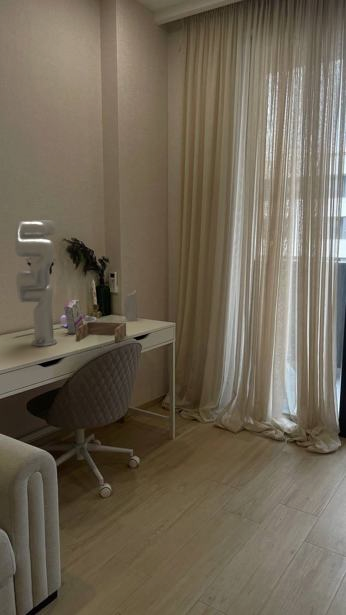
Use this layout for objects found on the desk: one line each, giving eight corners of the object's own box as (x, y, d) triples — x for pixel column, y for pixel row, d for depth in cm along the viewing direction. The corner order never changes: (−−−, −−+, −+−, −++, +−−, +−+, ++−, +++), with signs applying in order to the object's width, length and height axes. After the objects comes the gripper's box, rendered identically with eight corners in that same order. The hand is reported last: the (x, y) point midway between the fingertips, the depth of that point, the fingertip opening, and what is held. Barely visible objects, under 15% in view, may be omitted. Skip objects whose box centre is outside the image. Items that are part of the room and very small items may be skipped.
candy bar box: (75, 325, 270) (71, 299, 264) (83, 325, 269) (79, 299, 263) (68, 333, 260) (63, 307, 254) (76, 333, 259) (72, 307, 253)
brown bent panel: (117, 342, 238) (116, 329, 237) (76, 341, 242) (75, 328, 241) (126, 334, 256) (125, 322, 255) (88, 333, 260) (87, 321, 259)
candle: (117, 319, 305) (116, 289, 302) (137, 319, 303) (137, 289, 300) (114, 321, 298) (114, 291, 294) (135, 321, 296) (135, 291, 293)
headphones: (54, 326, 276) (84, 334, 268) (55, 314, 275) (84, 321, 266) (77, 320, 296) (105, 327, 287) (78, 309, 295) (106, 315, 286)
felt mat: (78, 334, 258) (78, 334, 258) (65, 334, 259) (65, 333, 259) (85, 330, 270) (85, 329, 270) (72, 329, 271) (72, 329, 271)
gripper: (57, 243, 254) (58, 273, 257) (28, 243, 257) (30, 273, 260) (51, 243, 247) (53, 275, 250) (22, 243, 250) (23, 274, 252)
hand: (41, 274), depth 255 cm, fingers open, 9 cm apart
